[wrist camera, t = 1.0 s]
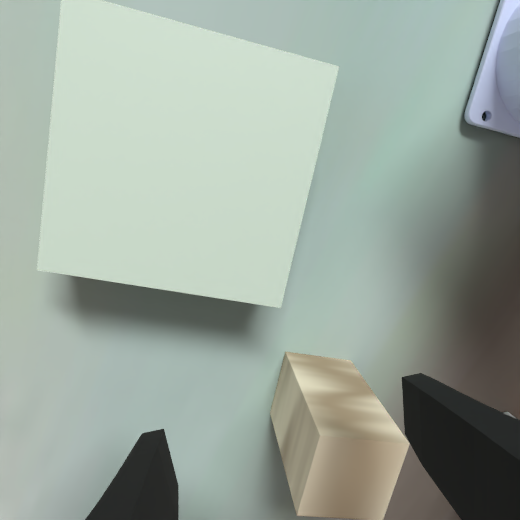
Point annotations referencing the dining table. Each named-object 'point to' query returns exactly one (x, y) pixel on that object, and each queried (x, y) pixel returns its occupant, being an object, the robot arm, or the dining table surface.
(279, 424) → the maple block
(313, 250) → the dining table surface
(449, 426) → the robot arm
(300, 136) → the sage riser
